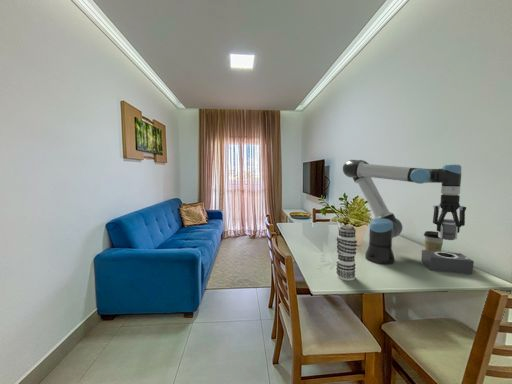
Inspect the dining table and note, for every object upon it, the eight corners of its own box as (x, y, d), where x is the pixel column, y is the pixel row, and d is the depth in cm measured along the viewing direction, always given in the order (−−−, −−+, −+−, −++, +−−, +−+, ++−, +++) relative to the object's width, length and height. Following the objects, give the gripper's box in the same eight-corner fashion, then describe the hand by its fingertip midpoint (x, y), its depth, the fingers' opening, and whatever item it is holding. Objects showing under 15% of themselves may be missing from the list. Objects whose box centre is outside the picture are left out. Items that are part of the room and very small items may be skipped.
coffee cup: (446, 261, 133) (448, 235, 132) (427, 259, 135) (429, 234, 134) (437, 255, 143) (438, 231, 141) (419, 253, 144) (420, 230, 143)
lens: (443, 239, 120) (444, 220, 119) (438, 236, 125) (439, 218, 125) (456, 240, 118) (458, 221, 117) (451, 237, 124) (452, 219, 123)
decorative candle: (332, 276, 113) (333, 226, 111) (340, 271, 119) (342, 223, 117) (350, 282, 106) (352, 229, 104) (358, 276, 113) (360, 226, 111)
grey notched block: (430, 270, 120) (430, 256, 120) (421, 261, 132) (422, 248, 131) (472, 274, 115) (473, 259, 114) (459, 265, 126) (460, 252, 126)
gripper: (432, 194, 119) (429, 238, 121) (476, 195, 114) (473, 241, 115) (426, 193, 126) (423, 234, 128) (468, 194, 121) (465, 237, 123)
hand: (447, 237), depth 122 cm, fingers closed on lens, 6 cm apart
